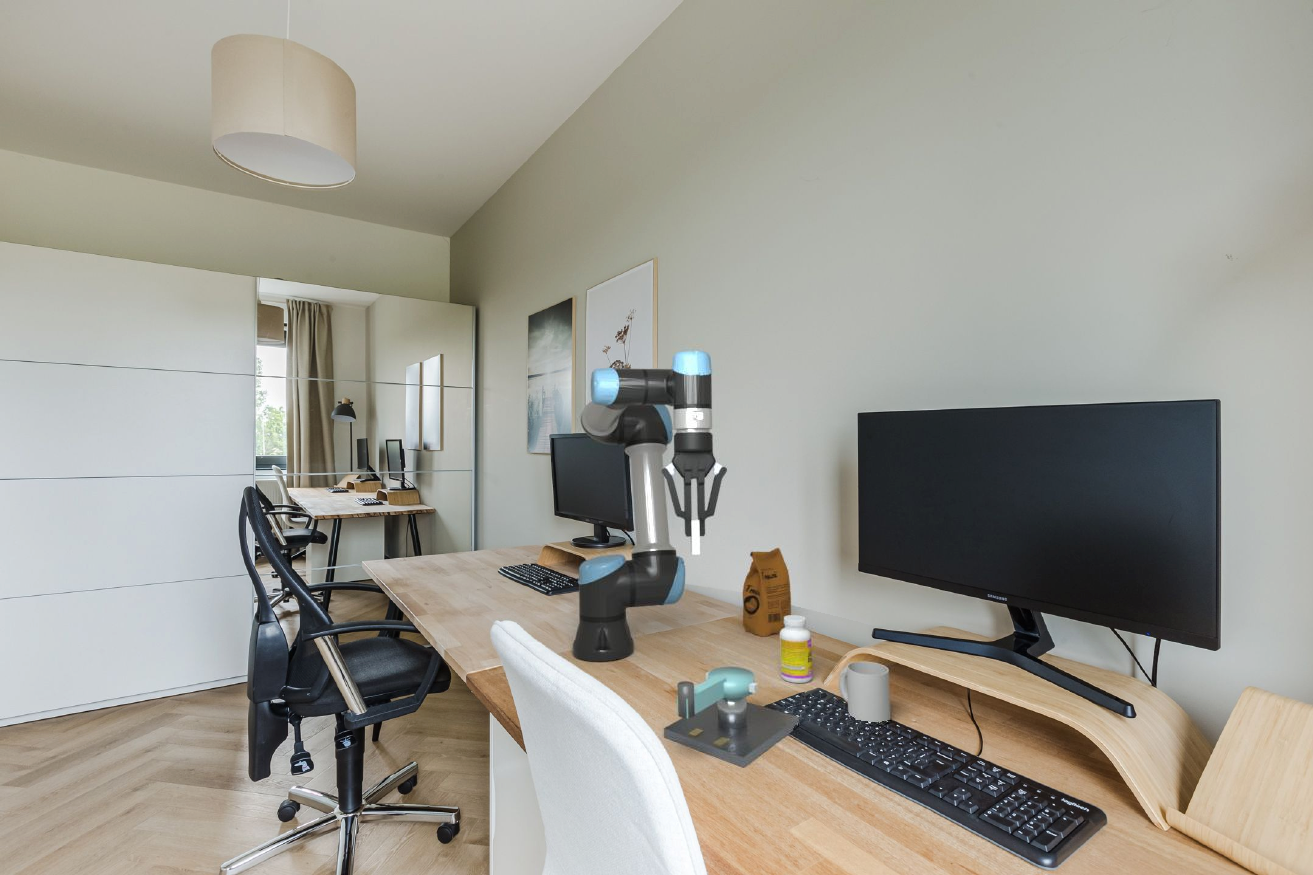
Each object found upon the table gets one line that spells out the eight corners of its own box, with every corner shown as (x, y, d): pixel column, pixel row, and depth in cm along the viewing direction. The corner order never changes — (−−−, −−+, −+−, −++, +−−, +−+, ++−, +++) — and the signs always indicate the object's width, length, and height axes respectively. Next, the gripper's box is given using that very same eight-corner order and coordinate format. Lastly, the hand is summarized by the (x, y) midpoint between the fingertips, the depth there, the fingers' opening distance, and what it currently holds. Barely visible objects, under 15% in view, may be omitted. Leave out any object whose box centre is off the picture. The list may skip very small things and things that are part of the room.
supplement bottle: (813, 685, 122) (811, 622, 122) (780, 683, 123) (779, 621, 124) (811, 673, 128) (809, 614, 129) (780, 672, 130) (778, 613, 130)
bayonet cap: (720, 675, 109) (719, 649, 109) (768, 688, 102) (767, 660, 102) (656, 709, 95) (656, 679, 95) (707, 726, 88) (706, 694, 88)
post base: (663, 737, 100) (663, 695, 101) (724, 702, 114) (723, 666, 114) (743, 767, 90) (742, 721, 90) (799, 725, 104) (798, 685, 104)
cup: (873, 730, 101) (871, 678, 101) (827, 710, 110) (826, 662, 110) (899, 720, 105) (897, 669, 105) (853, 701, 113) (851, 654, 114)
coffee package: (738, 630, 162) (735, 549, 163) (771, 622, 169) (769, 545, 170) (762, 638, 154) (759, 554, 155) (796, 630, 160) (794, 549, 161)
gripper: (660, 431, 110) (662, 557, 110) (729, 430, 111) (732, 556, 110) (658, 432, 118) (660, 550, 117) (723, 431, 118) (725, 549, 118)
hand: (695, 553), depth 114 cm, fingers closed
